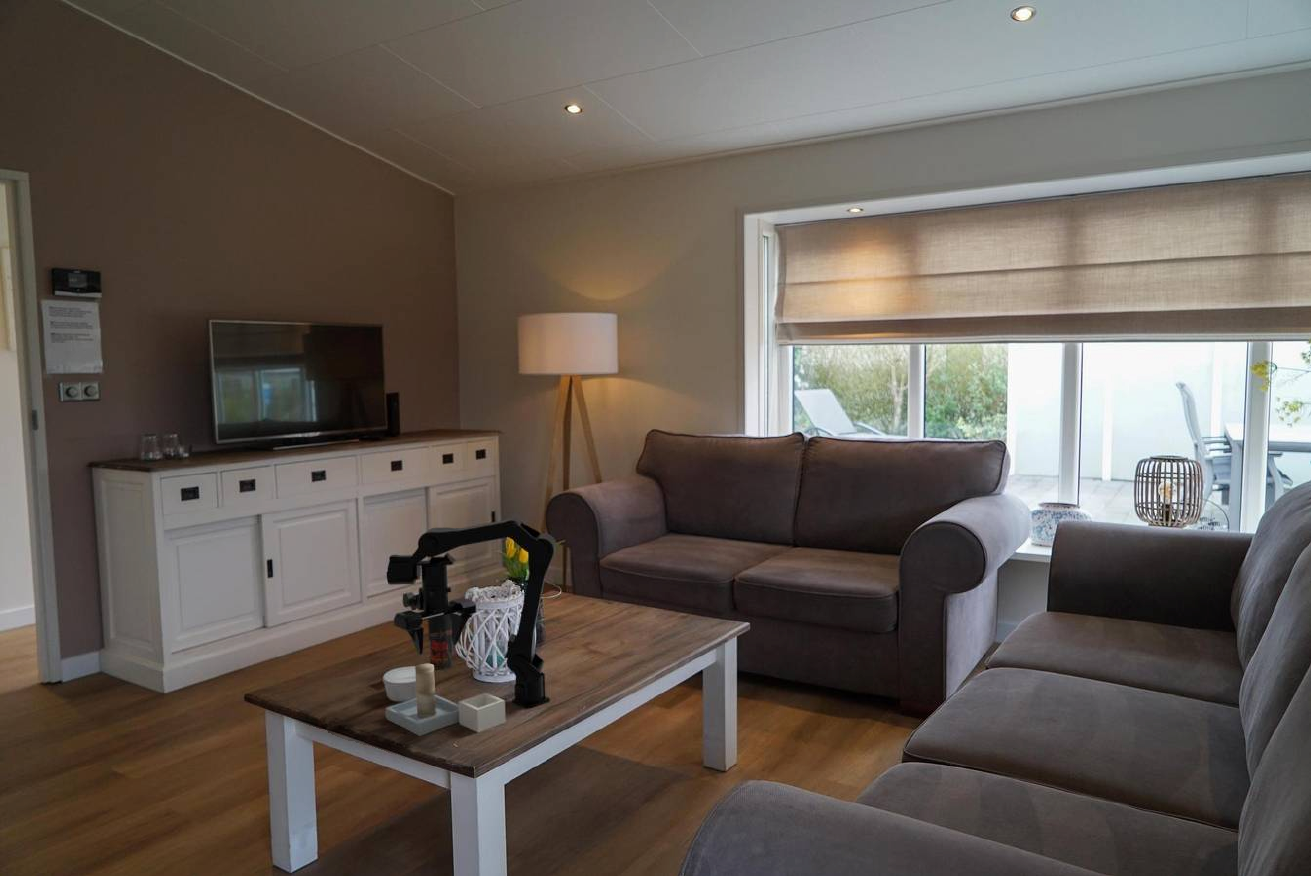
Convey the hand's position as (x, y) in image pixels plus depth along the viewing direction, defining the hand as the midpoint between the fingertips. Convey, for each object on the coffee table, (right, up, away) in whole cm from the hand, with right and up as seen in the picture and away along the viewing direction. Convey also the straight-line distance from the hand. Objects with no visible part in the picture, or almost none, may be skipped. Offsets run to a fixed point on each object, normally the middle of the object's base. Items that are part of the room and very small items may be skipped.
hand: (437, 649), depth 208 cm
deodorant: (-6, -11, +28) cm, 30 cm away
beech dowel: (-1, -13, -8) cm, 15 cm away
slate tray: (-1, -14, -8) cm, 16 cm away
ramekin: (-9, -13, +7) cm, 17 cm away
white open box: (+12, -14, -11) cm, 21 cm away
